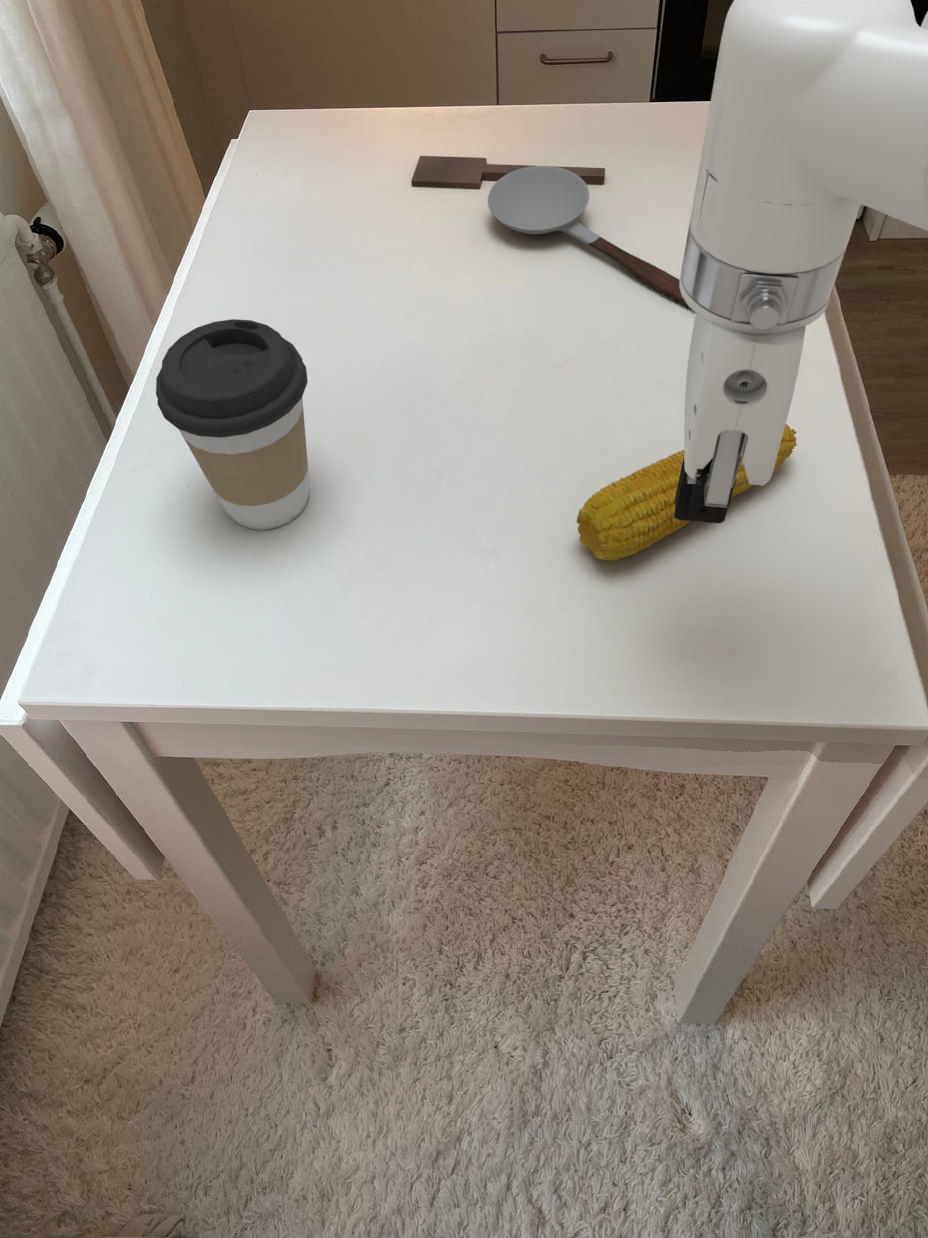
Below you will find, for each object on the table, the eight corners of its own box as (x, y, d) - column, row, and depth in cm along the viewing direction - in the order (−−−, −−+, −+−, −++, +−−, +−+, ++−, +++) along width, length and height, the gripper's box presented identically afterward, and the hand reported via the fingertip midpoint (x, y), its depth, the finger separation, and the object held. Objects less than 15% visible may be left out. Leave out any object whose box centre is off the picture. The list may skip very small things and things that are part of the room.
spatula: (606, 167, 111) (606, 158, 110) (602, 193, 108) (603, 184, 107) (420, 160, 114) (419, 152, 113) (411, 186, 110) (410, 177, 110)
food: (609, 585, 74) (615, 535, 70) (564, 541, 77) (567, 490, 72) (803, 470, 81) (821, 416, 76) (756, 433, 84) (770, 379, 79)
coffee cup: (353, 465, 84) (325, 321, 72) (302, 562, 77) (262, 422, 65) (236, 442, 86) (190, 299, 74) (178, 534, 80) (116, 394, 68)
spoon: (538, 177, 109) (538, 152, 106) (774, 310, 95) (780, 285, 92) (468, 224, 106) (466, 200, 103) (702, 369, 91) (706, 345, 89)
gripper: (849, 366, 43) (760, 609, 58) (827, 185, 51) (754, 438, 66) (679, 354, 44) (634, 597, 58) (686, 178, 52) (645, 429, 67)
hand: (698, 512), depth 62 cm, fingers closed
